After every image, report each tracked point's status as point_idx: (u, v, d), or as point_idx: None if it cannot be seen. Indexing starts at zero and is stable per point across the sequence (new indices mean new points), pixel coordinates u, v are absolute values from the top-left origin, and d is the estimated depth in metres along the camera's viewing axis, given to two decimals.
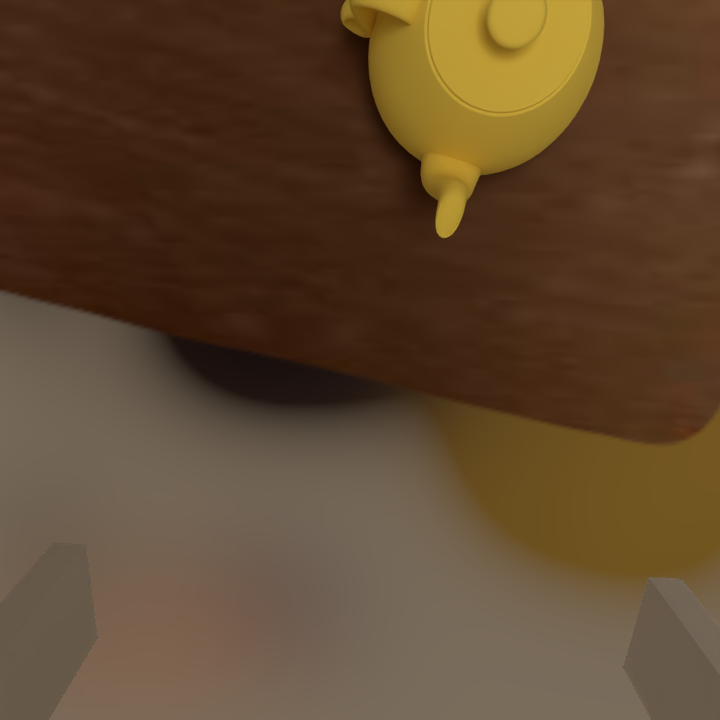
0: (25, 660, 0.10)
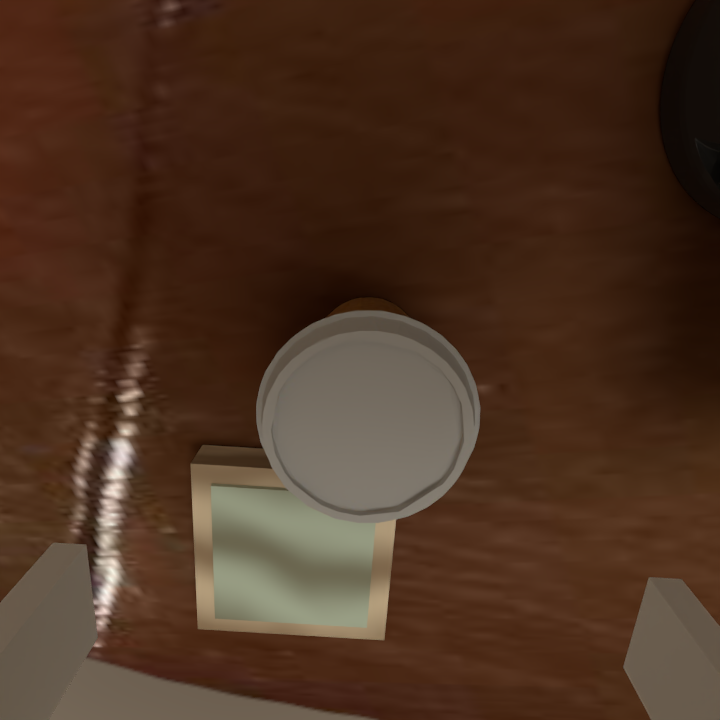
0: (25, 660, 0.10)
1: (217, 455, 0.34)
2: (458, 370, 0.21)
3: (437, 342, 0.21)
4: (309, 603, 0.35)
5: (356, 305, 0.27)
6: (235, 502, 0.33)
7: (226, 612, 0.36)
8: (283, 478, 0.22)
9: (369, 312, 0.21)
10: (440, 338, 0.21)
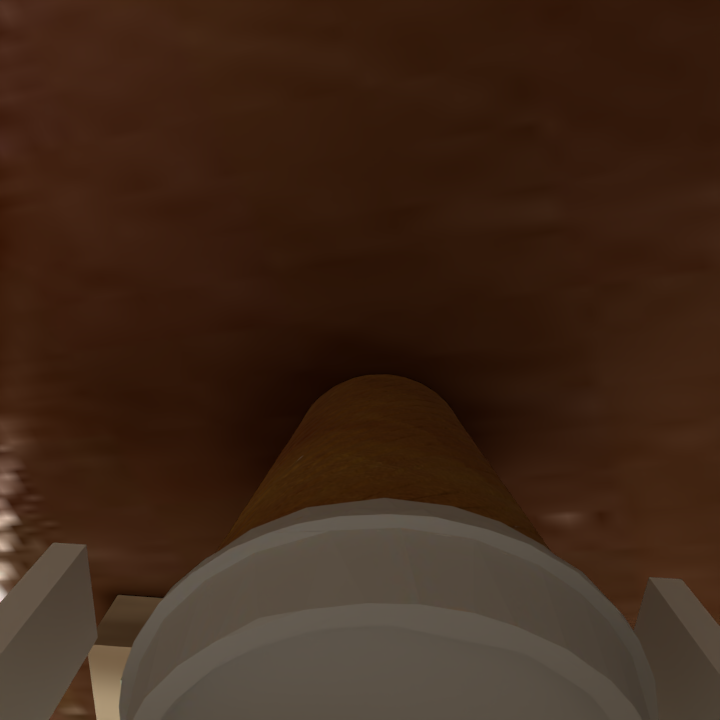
0: (25, 660, 0.10)
1: (136, 621, 0.21)
2: (627, 674, 0.08)
3: (570, 596, 0.08)
4: None
5: (360, 415, 0.14)
6: None
7: None
8: None
9: (391, 518, 0.08)
10: (575, 580, 0.08)
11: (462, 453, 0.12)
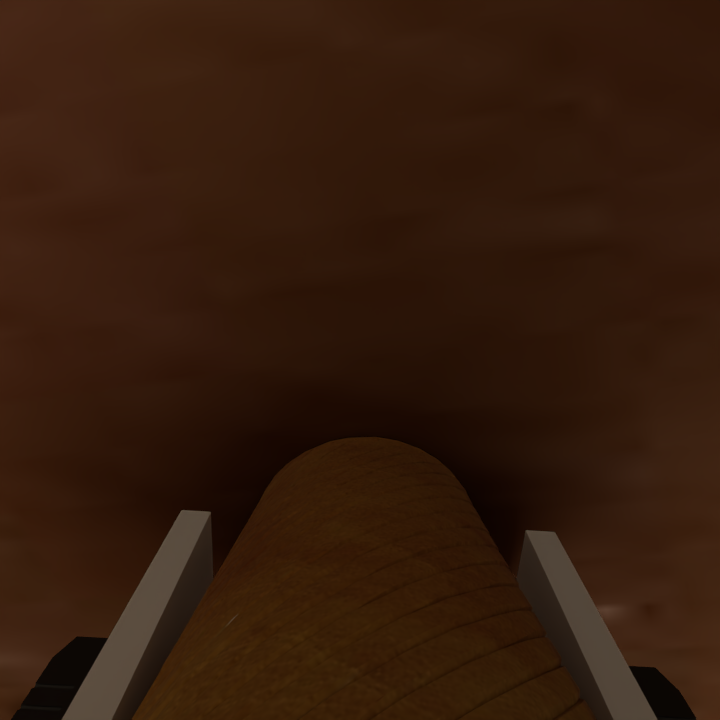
0: (180, 606, 0.11)
1: None
2: None
3: None
4: None
5: (331, 527, 0.09)
6: None
7: None
8: None
9: None
10: None
11: (488, 607, 0.08)
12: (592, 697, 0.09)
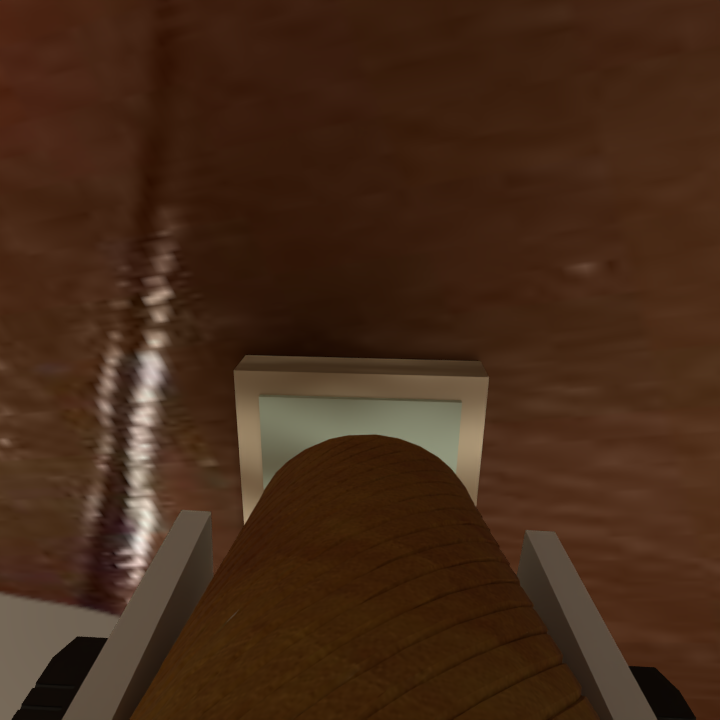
0: (180, 606, 0.11)
1: (264, 363, 0.28)
2: None
3: None
4: None
5: (331, 524, 0.09)
6: (288, 416, 0.27)
7: None
8: None
9: None
10: None
11: (489, 603, 0.08)
12: (592, 697, 0.09)
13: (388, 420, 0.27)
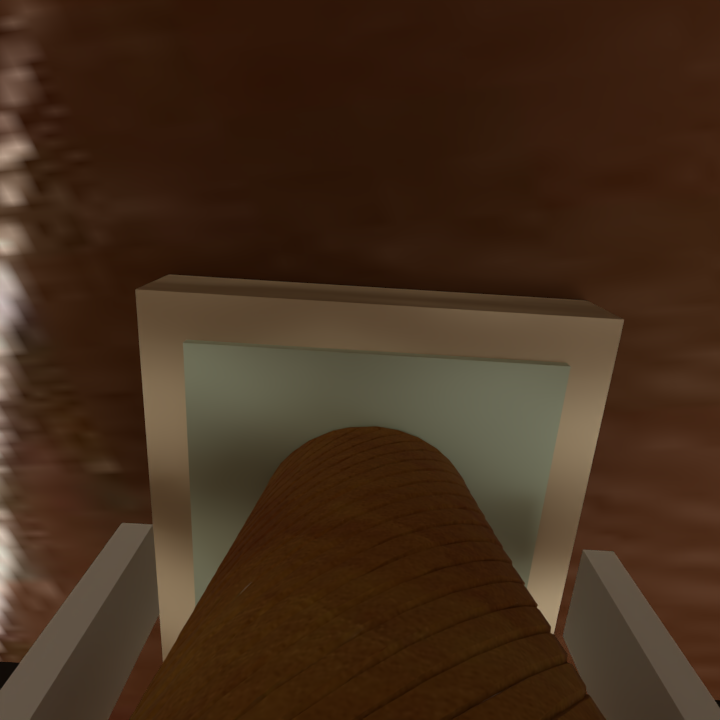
0: (109, 627, 0.11)
1: (199, 284, 0.15)
2: None
3: None
4: None
5: (336, 506, 0.10)
6: (240, 384, 0.14)
7: None
8: None
9: None
10: None
11: (482, 576, 0.09)
12: None
13: (429, 396, 0.14)
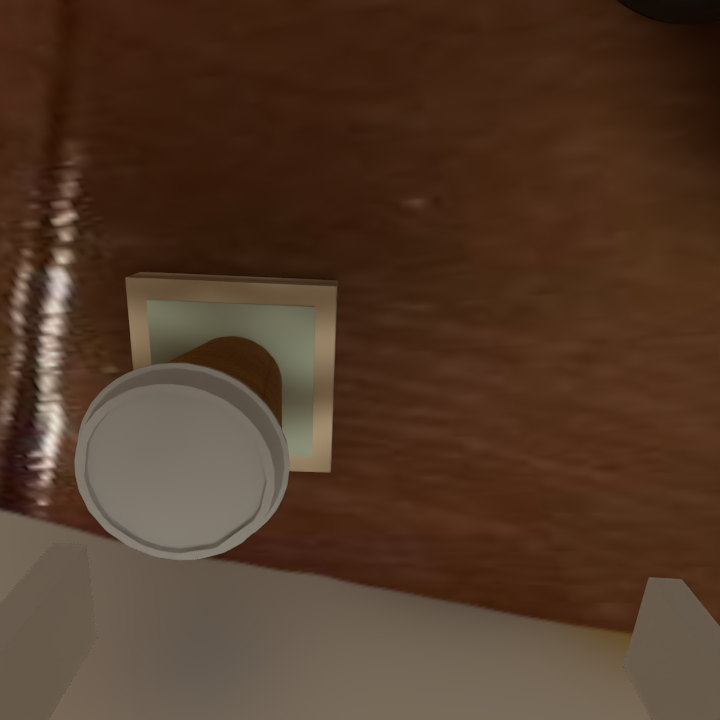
0: (25, 660, 0.10)
1: (154, 275, 0.33)
2: (257, 416, 0.22)
3: (237, 391, 0.23)
4: None
5: (199, 349, 0.28)
6: (172, 318, 0.33)
7: None
8: (101, 521, 0.23)
9: (172, 364, 0.22)
10: (242, 386, 0.23)
11: (239, 361, 0.27)
12: None
13: (255, 322, 0.33)
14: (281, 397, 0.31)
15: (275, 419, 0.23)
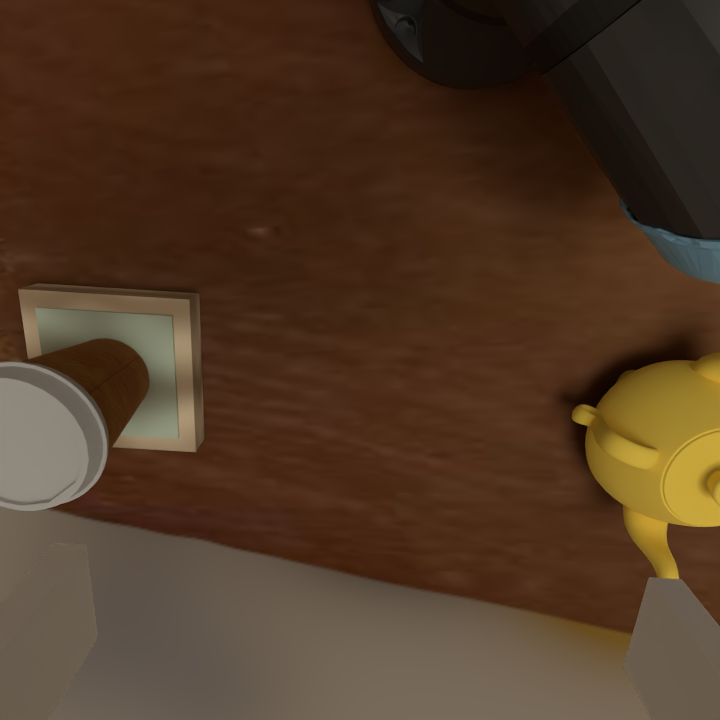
0: (25, 660, 0.10)
1: (45, 287, 0.41)
2: (73, 403, 0.30)
3: (60, 384, 0.30)
4: None
5: (62, 349, 0.36)
6: (56, 322, 0.40)
7: None
8: None
9: (11, 363, 0.30)
10: (64, 381, 0.30)
11: (87, 360, 0.35)
12: None
13: (124, 327, 0.40)
14: (137, 389, 0.39)
15: (92, 406, 0.31)
